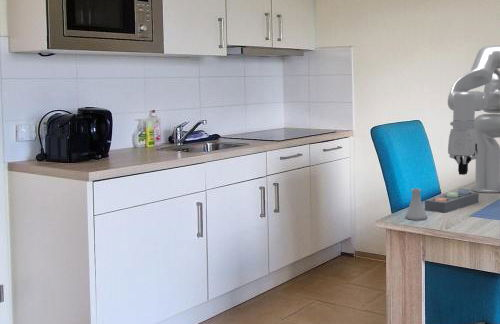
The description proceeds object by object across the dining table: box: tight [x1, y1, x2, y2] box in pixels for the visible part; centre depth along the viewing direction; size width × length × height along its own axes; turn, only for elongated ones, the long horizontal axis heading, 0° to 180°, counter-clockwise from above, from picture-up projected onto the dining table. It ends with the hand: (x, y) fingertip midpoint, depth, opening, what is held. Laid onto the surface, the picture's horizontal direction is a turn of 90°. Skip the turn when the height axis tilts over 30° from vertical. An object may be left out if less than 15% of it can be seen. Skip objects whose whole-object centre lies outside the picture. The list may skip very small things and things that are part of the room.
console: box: [424, 190, 480, 213], centre depth 228 cm, size 24×8×4 cm, turn 132°
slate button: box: [457, 188, 470, 195], centre depth 233 cm, size 4×4×3 cm
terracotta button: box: [434, 197, 447, 202], centre depth 222 cm, size 4×4×3 cm
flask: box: [405, 188, 428, 221], centre depth 210 cm, size 7×7×10 cm
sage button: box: [446, 191, 458, 198], centre depth 228 cm, size 4×4×3 cm
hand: (462, 174), depth 231 cm, fingers closed
